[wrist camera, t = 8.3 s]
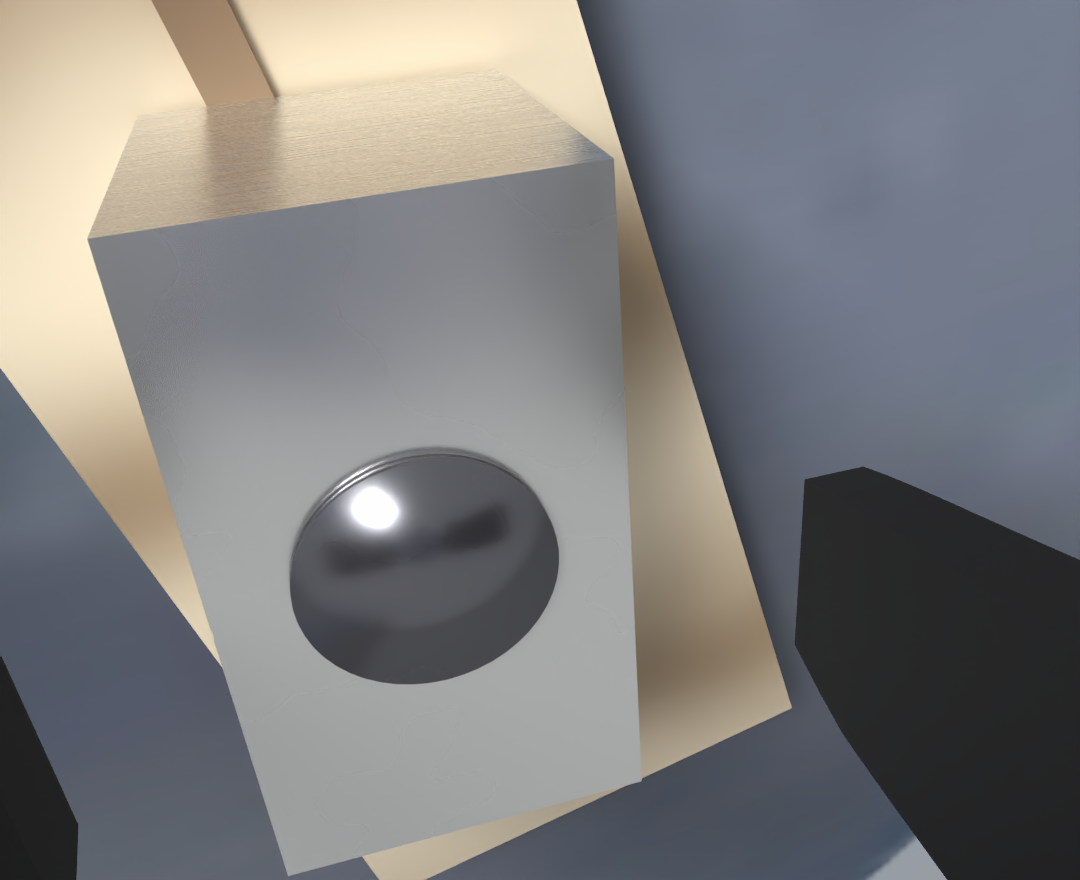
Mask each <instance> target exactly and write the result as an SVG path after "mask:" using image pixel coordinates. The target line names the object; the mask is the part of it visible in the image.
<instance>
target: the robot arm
mask: <svg viewBox="0 0 1080 880" xmlns="http://www.w3.org/2000/svg"><path fill="white" fill-rule="evenodd" d="M795 646H796V648H797V649H798V651H799V653H800V655H801V657H802V659H803V661H804V663H805V665H806V667H807V669H808V671H809V673H810V675H811V677H812V678H813V680H814V682H815V684H816V686H817V688H818V690H819V692H820V694H821V696H822V697H823V699H824V701H825V703H826V705H827V706H828V708H829V710H830V712H831V714H832V715H833V717H834V719H835V721H836V723H837V724H838V726H839V728H840V730H841V731H842V733H843V735H844V736H845V738H846V739H847V740H848V742H849V743H850V745H851V746H852V748H853V749H854V751H855V752H856V753H857V755H858V756H859V758H860V759H861V761H862V762H863V763H864V765H865V766H866V768H867V769H868V770H869V772H870V773H871V775H872V776H873V777H874V779H875V780H876V782H877V783H878V784H879V786H880V787H881V789H882V790H883V791H884V793H885V794H886V796H887V797H888V799H889V800H890V801H891V803H892V804H893V806H894V807H895V808H896V810H897V811H898V812H899V814H900V815H901V817H902V818H903V819H904V821H905V822H906V823H907V825H908V826H909V828H910V829H911V830H912V832H913V833H914V834H915V836H916V837H917V839H918V840H919V841H920V843H921V844H922V845H923V847H924V848H925V849H926V851H927V852H928V854H929V855H930V857H931V858H932V859H933V861H934V862H935V863H936V865H937V866H938V868H939V869H940V870H941V872H942V873H943V874H944V876H945V877H946V879H947V880H1080V560H1078V559H1076V558H1074V557H1071V556H1069V555H1067V554H1065V553H1062V552H1060V551H1058V550H1055V549H1053V548H1051V547H1049V546H1046V545H1044V544H1042V543H1039V542H1037V541H1035V540H1033V539H1030V538H1028V537H1026V536H1024V535H1021V534H1019V533H1017V532H1015V531H1012V530H1010V529H1008V528H1006V527H1004V526H1001V525H999V524H997V523H995V522H992V521H990V520H988V519H986V518H984V517H981V516H979V515H977V514H975V513H972V512H970V511H968V510H966V509H964V508H961V507H959V506H957V505H955V504H952V503H950V502H948V501H946V500H943V499H941V498H939V497H937V496H934V495H932V494H930V493H927V492H925V491H923V490H921V489H918V488H916V487H914V486H911V485H909V484H907V483H904V482H902V481H900V480H897V479H895V478H892V477H890V476H887V475H885V474H882V473H879V472H876V471H874V470H871V469H868V468H865V467H860V468H855V469H851V470H846V471H841V472H837V473H832V474H828V475H823V476H819V477H814V478H810V479H805V485H804V501H803V518H802V534H801V551H800V567H799V584H798V600H797V617H796V633H795ZM77 844H78V823H77V821H76V819H75V817H74V814H73V812H72V810H71V808H70V806H69V804H68V801H67V799H66V797H65V795H64V793H63V790H62V788H61V786H60V784H59V782H58V779H57V777H56V775H55V773H54V771H53V768H52V766H51V764H50V762H49V760H48V758H47V755H46V753H45V751H44V749H43V747H42V744H41V742H40V740H39V738H38V736H37V733H36V731H35V729H34V727H33V725H32V722H31V720H30V718H29V716H28V714H27V711H26V709H25V707H24V705H23V703H22V701H21V698H20V696H19V694H18V692H17V690H16V687H15V685H14V683H13V681H12V679H11V676H10V674H9V672H8V670H7V668H6V665H5V663H4V661H3V659H2V657H0V880H76V873H77Z"/></svg>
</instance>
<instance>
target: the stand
mask: <svg viewBox="0 0 1080 880" xmlns="http://www.w3.org/2000/svg"><path fill="white" fill-rule="evenodd" d="M491 68H495V69H496V70H497V71H499V72H500V73H501V74H503V75H504V76H505V77H507V78H508V79H509V80H511V81H512V82H513V83H515V84H516V85H517V86H519V87H520V88H521V89H523V90H524V91H525V92H527V93H528V94H529V95H531V96H532V97H533V98H535V99H536V100H537V101H539V102H540V103H541V104H542V105H544V106H545V107H546V108H548V109H549V110H550V111H552V112H553V113H554V114H556V115H557V116H558V117H560V118H561V119H562V120H564V121H565V122H566V123H568V124H569V125H570V126H572V127H573V128H574V129H576V130H577V131H578V132H580V133H581V134H582V135H584V136H585V137H586V138H588V139H589V140H590V141H592V142H593V143H594V144H595V145H597V146H598V147H599V148H601V149H602V150H603V151H605V152H606V153H607V154H609V155H610V156H611V157H613V158H614V170H615V193H616V215H617V238H618V260H619V283H620V305H621V328H622V350H623V372H624V395H625V417H626V440H627V462H628V485H629V507H630V530H631V552H632V574H633V597H634V619H635V642H636V664H637V687H638V709H639V732H640V754H641V777H642V778H644V777H646V776H648V775H650V774H652V773H654V772H656V771H659V770H661V769H663V768H665V767H667V766H669V765H671V764H674V763H676V762H678V761H680V760H682V759H684V758H686V757H688V756H691V755H693V754H695V753H697V752H699V751H701V750H703V749H706V748H708V747H710V746H712V745H714V744H716V743H718V742H721V741H723V740H725V739H727V738H729V737H731V736H733V735H736V734H738V733H740V732H742V731H744V730H746V729H748V728H750V727H753V726H755V725H757V724H759V723H761V722H763V721H765V720H768V719H770V718H772V717H774V716H776V715H778V714H780V713H783V712H785V711H787V710H789V709H791V708H792V707H791V703H790V700H789V697H788V693H787V690H786V687H785V684H784V680H783V677H782V674H781V670H780V667H779V664H778V661H777V657H776V654H775V651H774V647H773V644H772V641H771V638H770V634H769V631H768V628H767V624H766V621H765V618H764V615H763V611H762V608H761V605H760V601H759V598H758V595H757V592H756V588H755V585H754V582H753V579H752V575H751V572H750V569H749V565H748V562H747V559H746V556H745V552H744V549H743V546H742V542H741V539H740V536H739V533H738V529H737V526H736V523H735V519H734V516H733V513H732V510H731V506H730V503H729V500H728V496H727V493H726V490H725V487H724V483H723V480H722V477H721V473H720V470H719V467H718V464H717V460H716V457H715V454H714V450H713V447H712V444H711V441H710V437H709V434H708V431H707V427H706V424H705V421H704V418H703V414H702V411H701V408H700V404H699V401H698V398H697V395H696V391H695V388H694V385H693V381H692V378H691V375H690V372H689V368H688V365H687V362H686V358H685V355H684V352H683V349H682V345H681V342H680V339H679V335H678V332H677V329H676V326H675V322H674V319H673V316H672V313H671V309H670V306H669V303H668V299H667V296H666V293H665V290H664V286H663V283H662V280H661V276H660V273H659V270H658V267H657V263H656V260H655V257H654V253H653V250H652V247H651V244H650V240H649V237H648V234H647V230H646V227H645V224H644V221H643V217H642V214H641V211H640V207H639V204H638V201H637V198H636V194H635V191H634V188H633V184H632V181H631V178H630V175H629V171H628V168H627V165H626V161H625V158H624V155H623V152H622V148H621V145H620V142H619V138H618V135H617V132H616V129H615V125H614V122H613V119H612V115H611V112H610V109H609V106H608V102H607V99H606V96H605V92H604V89H603V86H602V83H601V79H600V76H599V73H598V69H597V66H596V63H595V60H594V56H593V53H592V50H591V46H590V43H589V40H588V37H587V33H586V30H585V27H584V24H583V20H582V17H581V14H580V10H579V7H578V4H577V1H576V0H0V368H1V369H2V371H3V372H4V373H5V375H6V376H7V377H8V379H9V380H10V382H11V383H12V384H13V386H14V387H15V388H16V390H17V391H18V392H19V394H20V395H21V396H22V398H23V399H24V400H25V402H26V403H27V404H28V406H29V407H30V409H31V410H32V411H33V413H34V414H35V415H36V417H37V418H38V419H39V421H40V422H41V423H42V425H43V426H44V427H45V429H46V430H47V431H48V433H49V434H50V436H51V437H52V438H53V440H54V441H55V442H56V444H57V445H58V446H59V448H60V449H61V450H62V452H63V453H64V454H65V456H66V457H67V459H68V460H69V461H70V463H71V464H72V465H73V467H74V468H75V469H76V471H77V472H78V473H79V475H80V476H81V477H82V479H83V480H84V481H85V483H86V484H87V486H88V487H89V488H90V490H91V491H92V492H93V494H94V495H95V496H96V498H97V499H98V500H99V502H100V503H101V504H102V506H103V507H104V508H105V510H106V511H107V513H108V514H109V515H110V517H111V518H112V519H113V521H114V522H115V523H116V525H117V526H118V527H119V529H120V530H121V531H122V533H123V534H124V536H125V537H126V538H127V540H128V541H129V542H130V544H131V545H132V546H133V548H134V549H135V550H136V552H137V553H138V554H139V556H140V557H141V558H142V560H143V561H144V563H145V564H146V565H147V567H148V568H149V569H150V571H151V572H152V573H153V575H154V576H155V577H156V579H157V580H158V581H159V583H160V584H161V585H162V587H163V588H164V590H165V591H166V592H167V594H168V595H169V596H170V598H171V599H172V600H173V602H174V603H175V604H176V606H177V607H178V608H179V610H180V611H181V613H182V614H183V615H184V617H185V618H186V619H187V621H188V622H189V623H190V625H191V626H192V627H193V629H194V630H195V631H196V633H197V634H198V635H199V637H200V638H201V640H202V641H203V642H204V644H205V645H206V646H207V648H208V649H209V650H210V652H211V653H212V654H213V656H214V657H215V658H216V660H217V661H218V662H219V664H220V665H221V662H220V658H219V655H218V652H217V649H216V646H215V643H214V639H213V636H212V633H211V630H210V627H209V624H208V620H207V617H206V614H205V611H204V608H203V605H202V601H201V598H200V595H199V592H198V589H197V586H196V582H195V579H194V576H193V573H192V570H191V566H190V563H189V560H188V557H187V554H186V551H185V547H184V544H183V541H182V538H181V535H180V532H179V528H178V525H177V522H176V519H175V516H174V513H173V509H172V506H171V503H170V500H169V497H168V494H167V490H166V487H165V484H164V481H163V478H162V475H161V471H160V468H159V465H158V462H157V459H156V456H155V452H154V449H153V446H152V443H151V440H150V437H149V433H148V430H147V427H146V424H145V421H144V418H143V414H142V411H141V408H140V405H139V402H138V399H137V395H136V392H135V389H134V386H133V383H132V380H131V376H130V373H129V370H128V367H127V364H126V361H125V357H124V354H123V351H122V348H121V345H120V342H119V338H118V335H117V332H116V329H115V326H114V323H113V319H112V316H111V313H110V310H109V307H108V304H107V300H106V297H105V294H104V291H103V288H102V285H101V281H100V278H99V275H98V272H97V269H96V266H95V262H94V259H93V256H92V253H91V250H90V247H89V243H88V240H87V238H88V235H89V233H90V230H91V228H92V226H93V223H94V221H95V218H96V216H97V213H98V211H99V209H100V206H101V204H102V201H103V199H104V196H105V194H106V191H107V189H108V187H109V184H110V182H111V179H112V177H113V174H114V172H115V169H116V167H117V165H118V162H119V160H120V157H121V155H122V152H123V150H124V147H125V145H126V143H127V140H128V138H129V135H130V133H131V130H132V128H133V125H134V123H135V121H136V118H137V116H138V115H146V114H153V113H161V112H168V111H176V110H183V109H191V108H198V107H206V106H213V105H221V104H228V103H236V102H243V101H251V100H258V99H266V98H273V97H281V96H288V95H296V94H303V93H311V92H318V91H326V90H333V89H341V88H348V87H356V86H363V85H371V84H378V83H386V82H394V81H401V80H409V79H416V78H424V77H431V76H439V75H446V74H454V73H461V72H469V71H476V70H484V69H491ZM221 667H222V665H221ZM626 786H627V785H626ZM622 787H624V786H622ZM622 787H618V788H615V789H611V790H607V791H604V792H600V793H596V794H592V795H589V796H585V797H581V798H577V799H574V800H570V801H566V802H563V803H559V804H555V805H551V806H548V807H544V808H540V809H537V810H533V811H529V812H525V813H522V814H518V815H514V816H510V817H507V818H503V819H499V820H496V821H492V822H488V823H484V824H481V825H477V826H473V827H469V828H466V829H462V830H458V831H455V832H451V833H447V834H443V835H440V836H436V837H432V838H428V839H425V840H421V841H417V842H414V843H410V844H406V845H402V846H399V847H395V848H391V849H387V850H384V851H380V852H376V853H373V854H369V855H365V856H362V857H363V858H364V860H365V861H366V862H367V864H368V865H369V866H370V868H371V869H372V871H373V872H374V873H375V875H376V876H377V877H378V879H379V880H426V879H428V878H430V877H432V876H434V875H436V874H438V873H441V872H443V871H445V870H447V869H449V868H451V867H453V866H456V865H458V864H460V863H462V862H464V861H466V860H468V859H471V858H473V857H475V856H477V855H479V854H481V853H483V852H485V851H488V850H490V849H492V848H494V847H496V846H498V845H500V844H503V843H505V842H507V841H509V840H511V839H513V838H515V837H518V836H520V835H522V834H524V833H526V832H528V831H530V830H532V829H535V828H537V827H539V826H541V825H543V824H545V823H547V822H550V821H552V820H554V819H556V818H558V817H560V816H562V815H565V814H567V813H569V812H571V811H573V810H575V809H577V808H580V807H582V806H584V805H586V804H588V803H590V802H592V801H594V800H597V799H599V798H601V797H603V796H605V795H607V794H609V793H612V792H614V791H616V790H618V789H620V788H622Z"/></svg>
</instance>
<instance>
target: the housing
mask: <svg viewBox="0 0 1080 880" xmlns="http://www.w3.org/2000/svg"><path fill="white" fill-rule="evenodd" d="M87 240H88V243H89V247H90V250H91V253H92V256H93V259H94V262H95V266H96V269H97V272H98V275H99V278H100V281H101V285H102V288H103V291H104V294H105V297H106V300H107V304H108V307H109V310H110V313H111V316H112V319H113V323H114V326H115V329H116V332H117V335H118V338H119V342H120V345H121V348H122V351H123V354H124V357H125V361H126V364H127V367H128V370H129V373H130V376H131V380H132V383H133V386H134V389H135V392H136V395H137V399H138V402H139V405H140V408H141V411H142V414H143V418H144V421H145V424H146V427H147V430H148V433H149V437H150V440H151V443H152V446H153V449H154V452H155V456H156V459H157V462H158V465H159V468H160V471H161V475H162V478H163V481H164V484H165V487H166V490H167V494H168V497H169V500H170V503H171V506H172V509H173V513H174V516H175V519H176V522H177V525H178V528H179V532H180V535H181V538H182V541H183V544H184V547H185V551H186V554H187V557H188V560H189V563H190V566H191V570H192V573H193V576H194V579H195V582H196V586H197V589H198V592H199V595H200V598H201V601H202V605H203V608H204V611H205V614H206V617H207V620H208V624H209V627H210V630H211V633H212V636H213V639H214V643H215V646H216V649H217V652H218V655H219V658H220V662H221V665H222V668H223V671H224V674H225V677H226V681H227V684H228V687H229V690H230V693H231V696H232V700H233V703H234V706H235V709H236V712H237V715H238V719H239V722H240V725H241V728H242V731H243V734H244V738H245V741H246V744H247V747H248V750H249V753H250V757H251V760H252V763H253V766H254V769H255V772H256V776H257V779H258V782H259V785H260V788H261V791H262V795H263V798H264V801H265V804H266V807H267V810H268V814H269V817H270V820H271V823H272V826H273V829H274V833H275V836H276V839H277V842H278V845H279V848H280V852H281V855H282V858H283V861H284V864H285V867H286V871H287V874H288V876H291V875H294V874H298V873H302V872H306V871H309V870H313V869H317V868H320V867H324V866H328V865H332V864H335V863H339V862H343V861H347V860H350V859H354V858H358V857H361V856H365V855H369V854H373V853H376V852H380V851H384V850H387V849H391V848H395V847H399V846H402V845H406V844H410V843H414V842H417V841H421V840H425V839H428V838H432V837H436V836H440V835H443V834H447V833H451V832H455V831H458V830H462V829H466V828H469V827H473V826H477V825H481V824H484V823H488V822H492V821H496V820H499V819H503V818H507V817H510V816H514V815H518V814H522V813H525V812H529V811H533V810H537V809H540V808H544V807H548V806H551V805H555V804H559V803H563V802H566V801H570V800H574V799H577V798H581V797H585V796H589V795H592V794H596V793H600V792H604V791H607V790H611V789H615V788H618V787H622V786H626V785H630V784H633V783H637V782H641V781H642V777H641V754H640V732H639V709H638V687H637V664H636V642H635V619H634V597H633V574H632V552H631V530H630V507H629V485H628V462H627V440H626V417H625V395H624V372H623V350H622V328H621V305H620V283H619V260H618V238H617V215H616V193H615V170H614V158H613V157H611V156H610V155H609V154H607V153H606V152H605V151H603V150H602V149H601V148H599V147H598V146H597V145H595V144H594V143H593V142H592V141H590V140H589V139H588V138H586V137H585V136H584V135H582V134H581V133H580V132H578V131H577V130H576V129H574V128H573V127H572V126H570V125H569V124H568V123H566V122H565V121H564V120H562V119H561V118H560V117H558V116H557V115H556V114H554V113H553V112H552V111H550V110H549V109H548V108H546V107H545V106H544V105H542V104H541V103H540V102H539V101H537V100H536V99H535V98H533V97H532V96H531V95H529V94H528V93H527V92H525V91H524V90H523V89H521V88H520V87H519V86H517V85H516V84H515V83H513V82H512V81H511V80H509V79H508V78H507V77H505V76H504V75H503V74H501V73H500V72H499V71H497V70H496V69H495V68H491V69H484V70H476V71H469V72H461V73H454V74H446V75H439V76H431V77H424V78H416V79H409V80H401V81H394V82H386V83H378V84H371V85H363V86H356V87H348V88H341V89H333V90H326V91H318V92H311V93H303V94H296V95H288V96H281V97H273V98H266V99H258V100H251V101H243V102H236V103H228V104H221V105H213V106H206V107H198V108H191V109H183V110H176V111H168V112H161V113H153V114H146V115H138V116H137V118H136V121H135V123H134V125H133V128H132V130H131V133H130V135H129V138H128V140H127V143H126V145H125V147H124V150H123V152H122V155H121V157H120V160H119V162H118V165H117V167H116V169H115V172H114V174H113V177H112V179H111V182H110V184H109V187H108V189H107V191H106V194H105V196H104V199H103V201H102V204H101V206H100V209H99V211H98V213H97V216H96V218H95V221H94V223H93V226H92V228H91V230H90V233H89V235H88V238H87Z"/></svg>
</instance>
